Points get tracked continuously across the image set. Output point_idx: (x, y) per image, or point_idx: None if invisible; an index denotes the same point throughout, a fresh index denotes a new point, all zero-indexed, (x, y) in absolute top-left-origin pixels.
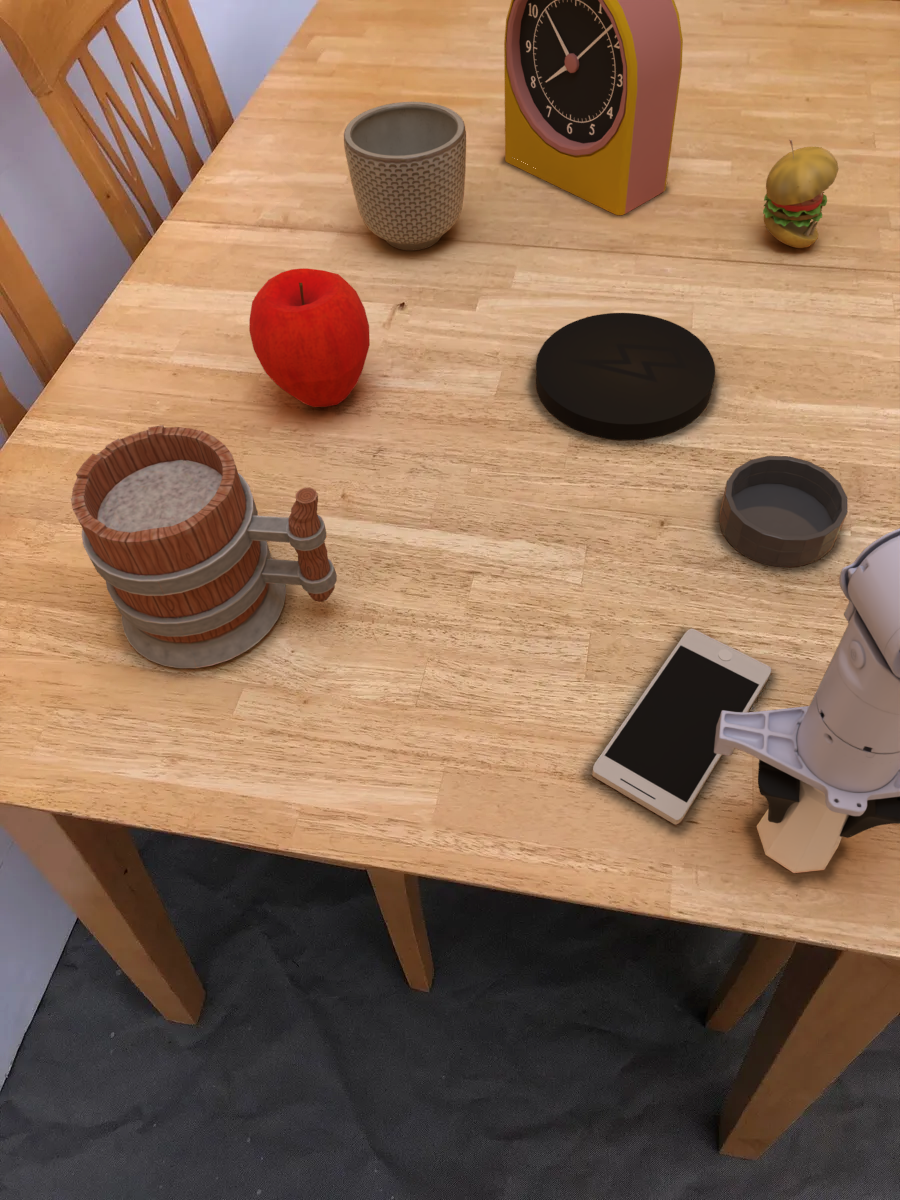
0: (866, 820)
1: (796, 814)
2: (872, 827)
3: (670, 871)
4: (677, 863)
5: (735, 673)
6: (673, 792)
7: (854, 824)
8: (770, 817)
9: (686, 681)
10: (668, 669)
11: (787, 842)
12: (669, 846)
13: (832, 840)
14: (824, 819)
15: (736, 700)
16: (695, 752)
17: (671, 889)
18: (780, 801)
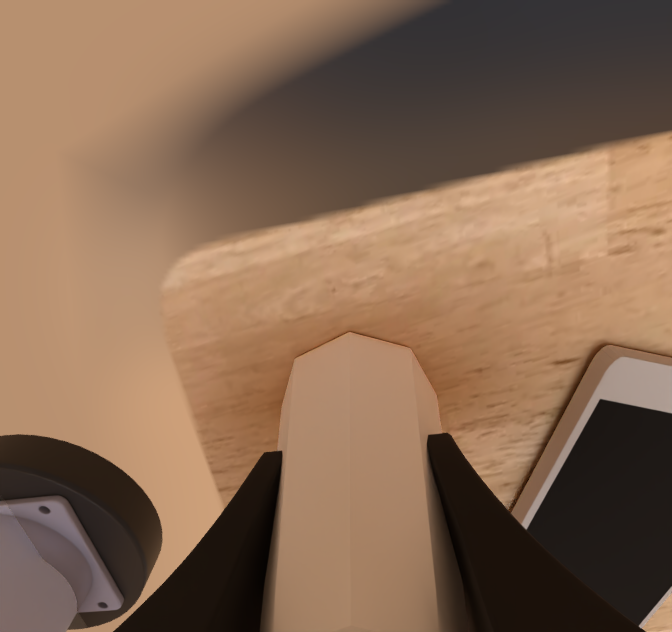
0: (207, 595)
1: (416, 507)
2: (196, 546)
3: (610, 239)
4: (594, 264)
5: None
6: (630, 410)
7: (249, 532)
8: (461, 453)
9: (607, 601)
10: (641, 611)
11: (391, 396)
12: (614, 294)
13: (295, 444)
14: (339, 539)
15: None
16: (585, 496)
17: (606, 197)
18: (533, 595)
